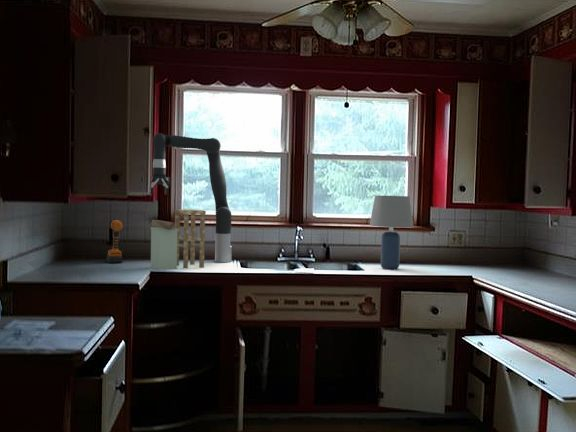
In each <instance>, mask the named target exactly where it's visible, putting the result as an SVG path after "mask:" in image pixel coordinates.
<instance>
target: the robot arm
mask: <svg viewBox="0 0 576 432" xmlns="http://www.w3.org/2000/svg"><path fill="white" fill-rule="evenodd" d="M152 140H153V157H152V158H153V161H152V176H151V177H152V179H151V181H152V182H151V183H150V185H151V192H150V191H149V194H150V195H154V186H156V185H162V186H163V187H164V195H165V196H166V195H168V194H169V189H170V188H171V187H172V178H171V177H170V176H169V177H167V176H166V171H167V170H166V169H167V165H166V163H167V162H166V156H167V155H166V147H172V148H178V149H192V150H193V149H195V150H202V151H206V155H207V159H208V160H207V161H208V170H209V179H210V186H211V190H212V191H211V192H212V195H213V199H214V205H215V207H214V208H215V235H214V236H215V240H214V241H215V242H214V243H215V245H214V246H215V247H214V261H215V262H217V263H229V262H232V256H233V255H232V251H233V250H232V248H233V247H232V245H231V234H232V211H231V210H230V207H229V204H228V198H227V193H228V192H227V191H228V190H227V179H226V174H225V170H224V168H223V164H222V161H221V160H222V159H221V148H222V147H221V146H222V144H221V141H220V140H219V139H218V138H215V137H212V138H210V137H209V138H196V137H189V136H181V135H174V134H172V135H169V134H163V133H161V132H158V133H156V134H154V136H153V139H152ZM166 181H167V182H166Z"/></svg>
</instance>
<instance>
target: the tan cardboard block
mask: <svg viewBox="0 0 576 432" xmlns="http://www.w3.org/2000/svg"><path fill="white" fill-rule="evenodd" d="M151 227H158V228H163V229H168V230H175V222H173V221H172V222H171V221H166V220H159V219H152V220H151Z"/></svg>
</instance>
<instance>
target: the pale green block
mask: <svg viewBox="0 0 576 432" xmlns="http://www.w3.org/2000/svg"><path fill="white" fill-rule="evenodd" d="M177 231H178V229H177V228H175V230H168V229H163V228H158V227H154V226H151V227H150V232H151V234H150V267H151V266H152V267H151V268H153V267H154V268H153V269H156V270H161V269H163V270H177V269H178V268H177V267H178V265H177Z"/></svg>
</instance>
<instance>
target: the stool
mask: <svg viewBox="0 0 576 432" xmlns="http://www.w3.org/2000/svg"><path fill="white" fill-rule="evenodd" d="M206 212H207V211H206V210H204V209H203V210H202V209H191V208H190V209H187V208H185V209H183V208H181V209H178V208H175V209H174V216H175V217H174V223H175V228H177V229H178V231H177V266H180V247H181V248H183V254H182V256H183V258H182V260H183V262H182V268H183V269H184V268H186V269H188V268H189V265H192V266H193V265H196V264H195V263H196V262H195V259H196V253H195V252H196V247H198V248H199V258H198V259H199V260H198V261H199V262H198V263H199V268H200V269H203V268H205V237H206V235H205V234H206V231H205V230H206ZM181 214H182V215H183V235H180V226H181V224H180V223H181V222H180V219H181ZM197 215H200V217H199V219H200V220H199V237H196V217H197ZM189 219H190V220H189ZM189 225H190V226H189ZM189 228H190V229H189ZM189 230H190V235H189ZM180 239H183V244H182V243H180ZM196 241H199V243H196ZM189 242H190V244H189ZM189 245H190V248H189ZM189 250H190V253H189Z"/></svg>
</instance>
